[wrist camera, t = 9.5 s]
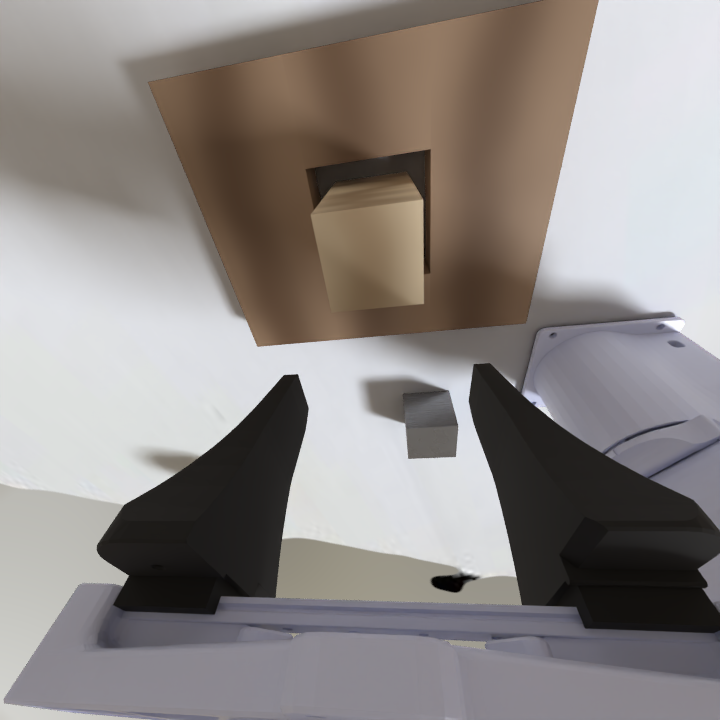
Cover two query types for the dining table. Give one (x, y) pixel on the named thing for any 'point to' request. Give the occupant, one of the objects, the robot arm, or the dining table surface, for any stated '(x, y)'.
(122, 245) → the dining table surface
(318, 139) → the hole board
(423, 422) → the brushed steel cube
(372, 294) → the long beech pin
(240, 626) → the robot arm
